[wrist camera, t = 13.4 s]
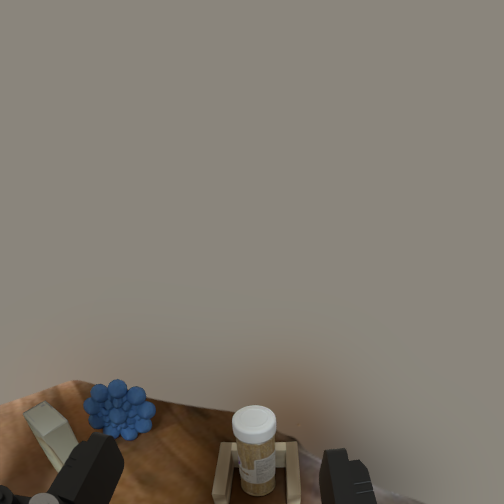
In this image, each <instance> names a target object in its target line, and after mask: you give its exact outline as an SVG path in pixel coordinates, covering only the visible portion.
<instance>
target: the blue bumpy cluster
mask: <svg viewBox="0 0 504 504" xmlns="http://www.w3.org/2000/svg"><path fill="white" fill-rule="evenodd" d="M145 400H146V393H145V391H144V389H143V388H140V387H137V386H136V387H132V388H130V389H129V390H127V385H126V384H125V382H123V381H122V380H119V379H117V380H113V381H112V382H110V383H109V385H108V388H107V387H106V386H105V385H102V384H96V385H95V386H93V387H92V389H91V398H87V399H86V400H85V401H84V404H83V406H84V410H85V411H86V412H87V413H88V414H89V415H90V416H89V419H88V420H89V424H90V425H91V427H93V428H94V429H102V428H103V434H107V435H111V436H113V437H114V439H115V438H117V437H118V436H119V435H120V434H121V436H122V437H123V438H124V439H125V440H128V441H131V440H134V439H135V438H137V436H138V432H139V433H147V432H149V431H150V430H151V428H152V422H151V420H150V419H151V418H152V417H153V416H154V415H155V413H156V409H155V406H154V404H153V403H151V402H148V401H145Z"/></svg>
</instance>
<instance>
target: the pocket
mask: <svg viewBox="0 0 504 504" xmlns="http://www.w3.org/2000/svg"><path fill="white" fill-rule="evenodd" d="M234 467H239V462H238V454H237V443H231V442H221V445H220V451H219V456H218V462H217V467H216V473H215V479H214V484H213V490H212V496H213V500H214V503H215V504H229V503H230V495H231V487H232V479H233V471H234ZM275 467H286V497H287V504H300V500H301V485H300V472H299V459H298V447H297V442H275Z"/></svg>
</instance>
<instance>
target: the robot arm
mask: <svg viewBox="0 0 504 504" xmlns="http://www.w3.org/2000/svg"><path fill="white" fill-rule="evenodd" d="M68 457H69V458H67V460H66V461H65V463H64V466H62V468H61V470H60V471H59V473H58V475H57V476H56V478H55V480H54V482H53V483H52V485H51V487H50V488H49V490H48V491H47V492H46V493H39V494H36V495H34V496H33V497H25V496H19V495H14V494H13V493H12V492H11V491H10V490H9V489H8V488H7V487H5V486H3V485H0V504H109V502H110V500H111V498H112V495H113V493H114V491H115V488H116V486H117V484H118V481H119V479H120V477H121V474H122V472H123V469H124V459H123V456H122V454H121V452H120V450H119V448H118V446H117V444H116V441H115V439H114V437H113V436H111V435H107V434H103V433H98V432H94V433H92V434H91V436H90V438H89V439H88V441H87V442H86V441H82V442H81V443H79V444H78V445H77V446H75V447H74V448H73V450H72V452H71V453H70V455H69V456H68ZM319 485H320V493H321V501H322V504H377V502H376V498H375V494H374V492H373V487H372V483H371V480H370V476H369V472H368V469H367V468H366V467H365V465H364V464H363V463H362V462H361V461H360V460H353V461H349V460H348V455H347V451H346V449H345V448H341V449H331V450H325V451H324V455H323V459H322V464H321V468H320V473H319Z"/></svg>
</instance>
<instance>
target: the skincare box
mask: <svg viewBox="0 0 504 504" xmlns="http://www.w3.org/2000/svg"><path fill="white" fill-rule="evenodd" d="M23 415H24V417H25V419H26V421H27V423H28V424H29V426H30V428H31V430H32V432H33V434H34V435H35V437H36V439H37V440H38V442H39V444H40V446H41V447H42V449H43V451H44V452H45V454H46V455H47V457H48V459H49V460H50V462H51V463H52V465H53V467H54V468H55V470H56V471H57V472H58V473H59V471H60V470H61V468H62V466H64V463H65V461H66V460H67V458H69V457H68V456H69V455H70V453H71V452H72V450H73V448H74V447H75V446H77V445H78V444H79V443H78V441H77V439H76V437H75V435H74V433H73V431H72V429H71V427H70V425H69V423H68V421H67V419H66V418H64V417H63V416H62V415H61V414H60V413H59V412H58V411H57V410H56V409H54V408H53V407H52V406H51V405H50V404H49V403H47V402H46V401H43V402H42V403H40V404H38V405H36V406H35V407H33V408H31V409H29V410H28V411H26V412H24V413H23Z"/></svg>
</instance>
